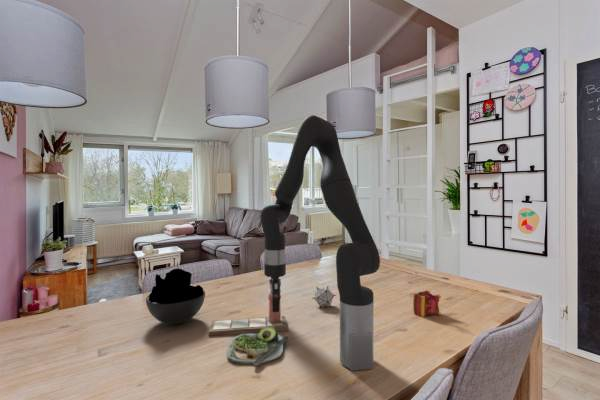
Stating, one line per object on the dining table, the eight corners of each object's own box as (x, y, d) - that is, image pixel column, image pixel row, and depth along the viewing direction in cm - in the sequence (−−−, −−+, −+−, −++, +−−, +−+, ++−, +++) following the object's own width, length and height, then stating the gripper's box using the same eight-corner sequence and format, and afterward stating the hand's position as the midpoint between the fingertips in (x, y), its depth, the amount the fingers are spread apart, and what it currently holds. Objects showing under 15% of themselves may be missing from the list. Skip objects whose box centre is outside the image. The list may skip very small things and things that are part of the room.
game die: (327, 316, 133) (333, 302, 127) (308, 308, 134) (313, 293, 128) (333, 300, 140) (339, 285, 134) (315, 292, 141) (320, 277, 135)
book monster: (429, 308, 131) (450, 322, 119) (409, 311, 129) (428, 325, 117) (430, 282, 130) (451, 293, 118) (409, 284, 128) (428, 296, 116)
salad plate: (285, 371, 87) (285, 354, 87) (218, 371, 88) (218, 354, 87) (289, 338, 107) (288, 324, 107) (234, 338, 107) (233, 324, 107)
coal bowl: (203, 308, 132) (202, 262, 132) (208, 328, 114) (207, 274, 113) (148, 316, 125) (147, 267, 124) (144, 338, 107) (142, 281, 106)
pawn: (281, 323, 113) (281, 292, 113) (268, 324, 113) (268, 293, 112) (280, 318, 118) (280, 288, 117) (268, 319, 117) (267, 289, 117)
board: (287, 330, 111) (287, 325, 111) (208, 336, 108) (208, 331, 108) (285, 320, 120) (285, 315, 120) (212, 324, 117) (212, 320, 117)
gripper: (287, 266, 108) (287, 314, 109) (284, 256, 122) (284, 299, 123) (264, 267, 107) (264, 315, 108) (263, 257, 121) (264, 300, 122)
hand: (275, 307), depth 116 cm, fingers open, 8 cm apart
